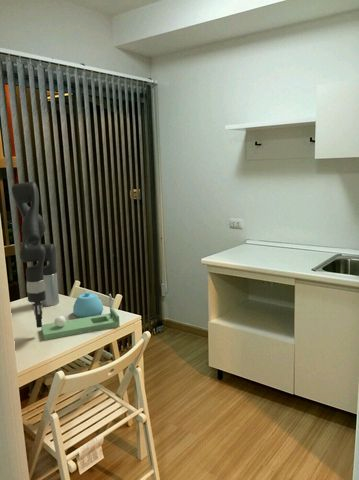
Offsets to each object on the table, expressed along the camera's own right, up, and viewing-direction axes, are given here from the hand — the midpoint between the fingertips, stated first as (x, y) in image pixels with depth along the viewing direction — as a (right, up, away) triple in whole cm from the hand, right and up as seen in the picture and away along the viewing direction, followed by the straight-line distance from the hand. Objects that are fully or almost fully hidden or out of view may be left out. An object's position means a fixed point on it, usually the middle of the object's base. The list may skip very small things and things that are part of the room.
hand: (39, 326), depth 183 cm
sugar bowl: (+16, +1, +26) cm, 31 cm away
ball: (+8, +2, +4) cm, 9 cm away
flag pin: (+31, +1, +12) cm, 33 cm away
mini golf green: (+17, -2, +8) cm, 19 cm away
